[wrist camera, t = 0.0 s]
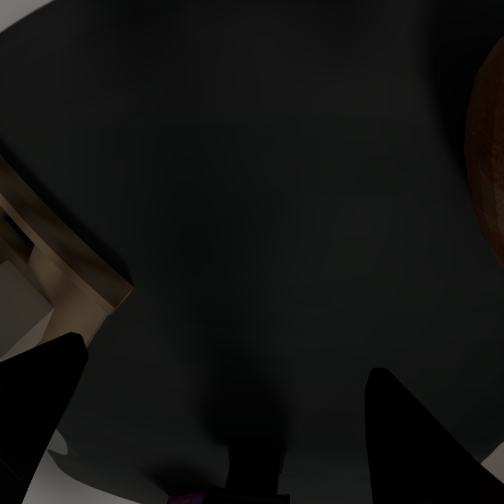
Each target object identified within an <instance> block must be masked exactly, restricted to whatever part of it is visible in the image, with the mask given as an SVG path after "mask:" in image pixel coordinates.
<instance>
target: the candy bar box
mask: <svg viewBox="0 0 504 504" xmlns="http://www.w3.org/2000/svg"><path fill="white" fill-rule="evenodd" d="M205 491H208V490H204V491H199V492H194V493H188V494H182V495H177V496H170V497H169V498H168V502H167V504H202V501H203V498H204V494H205Z"/></svg>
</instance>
